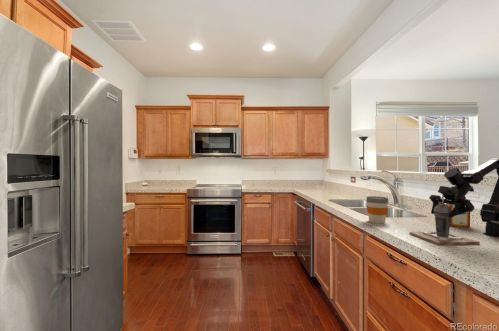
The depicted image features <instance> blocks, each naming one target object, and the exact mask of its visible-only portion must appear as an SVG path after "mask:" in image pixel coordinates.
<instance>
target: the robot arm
mask: <svg viewBox="0 0 499 331" xmlns="http://www.w3.org/2000/svg"><path fill="white" fill-rule="evenodd" d="M493 171H495V172H496V174H497V179H496V183H495V185H494V189H493V191H492V194H491V197H490V199H489V201H488V203H487V202H486V203H483V204H481V208H480V212H479V214H480V219H481V221H482V222H483V223H485V228H484V229H485V230H484V231H485V232H482V234H483V235H486V236H491V237H495V238H499V157H492V158H489V160H487V161H486V162H484V163H483V164H482V163H481V165H479V166H477V167H476V168H474V169H469V170H465V171H463V172H461V171H460V169H459V168H458V167H453V168H452V169H449V170H447V171H445V173H444V174H443V176H444V177H445V179H446V180H447V181H448V182H449V183H450V184H451V185H452V186H443V185H440V186H439V187H438V191H437V193H439V194H441V195H444V197H443V204H450V205H455V207H454V208H453V210H452V211H451V212H450V214H449V216H448V217H449V218H451V217H454V216H456V215H459V214H462V213H465V212H468V211H470V213H471V212H473V211H474V210H475V205H474V204H473V203H472V202H471V200H470V199H469V198H467V197H466V196H467V194H468V193H469V192H471V193H473V192H475V189H474V186H473V185H479V184H480V183H482V181H483V180H484V177H485V176H486V175H488V174H490V173H491V172H493ZM428 199H429V200H430V201H431V202H432V206H431V211H430V213H431V215H434V208H435V207H436V206H437V205H439V204H442V196H440V195H438V194H431V195H430V196H429V197H428ZM469 200H470V201H469Z"/></svg>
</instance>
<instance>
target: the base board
mask: <svg viewBox="0 0 499 331" xmlns="http://www.w3.org/2000/svg"><path fill="white" fill-rule="evenodd" d="M410 234H411V236H413V237H415V238H419V239H421V240H424V241H425V242H428V241H429V242H428V243H431V244H433V243H434V245H436V244H437V246H459V245H460V246H467V245H469V246H470V245H480V241H479V240H475V239H473V238H469V237H465V236H463V235H460V234H456V233H452V232H450V231H449V237H447V238H445V237H439V236H437V232H436V230H435V231H434V230H433V231H409V235H410Z"/></svg>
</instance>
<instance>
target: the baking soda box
mask: <svg viewBox="0 0 499 331" xmlns="http://www.w3.org/2000/svg"><path fill="white" fill-rule="evenodd" d="M468 200H469V201H470V202H471V200H470V199H468ZM445 204H446V203H445ZM446 205H448V206H449V207H450V208H451V210H453V208H454V207H455V205H450V204H446ZM450 227H456V228H457V227H458V228H468V227H470V228H471V212H470V211H468V212H465V213H462V214H459V215H456V216H454V217H451V221H450Z"/></svg>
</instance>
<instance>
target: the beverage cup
mask: <svg viewBox="0 0 499 331" xmlns="http://www.w3.org/2000/svg"><path fill="white" fill-rule="evenodd" d="M441 198H442V204H439V205H437V206H436V207H435V208H434V214H433V216H434V221H435V231H436V232H437V236H439V237H445V238H447V237H449V232H450V229H451V226H450V221H451V218H449V217H448V216H449V214H450V212H451V211H452V210H451V208H450V207H449V206H448V205H446V203H444V204H443V199H444V198H445V197H444V195H443V194H441Z"/></svg>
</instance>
